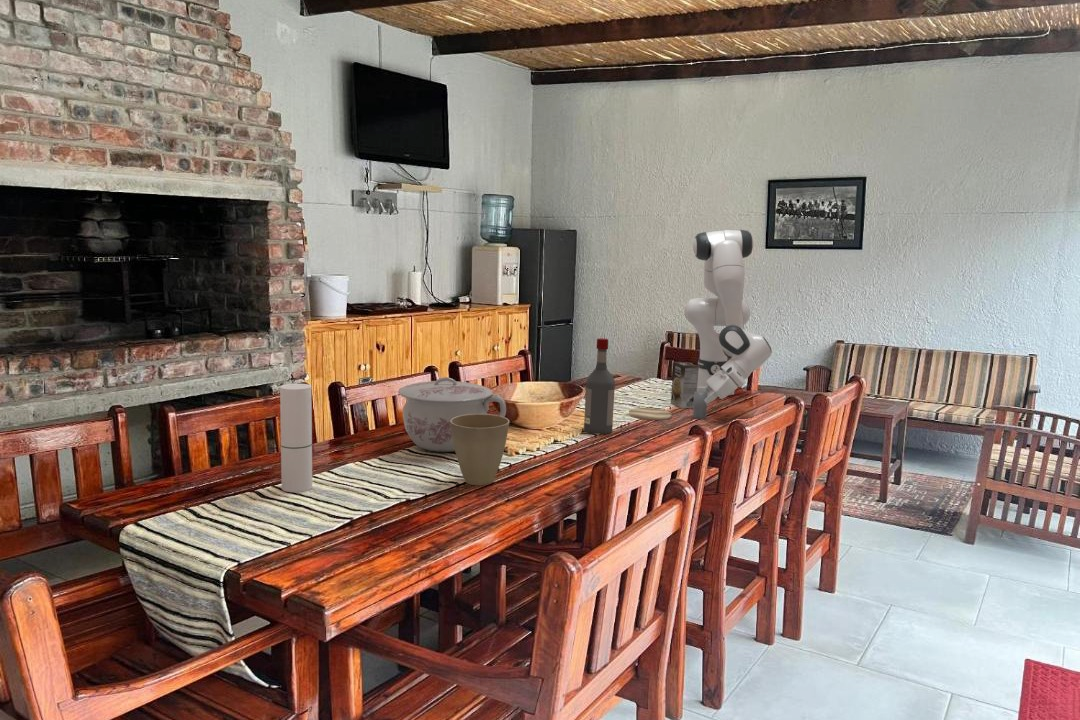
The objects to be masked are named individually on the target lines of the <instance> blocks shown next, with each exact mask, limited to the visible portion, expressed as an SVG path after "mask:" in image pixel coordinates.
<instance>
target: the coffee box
mask: <svg viewBox="0 0 1080 720" xmlns="http://www.w3.org/2000/svg"><path fill="white" fill-rule="evenodd" d="M672 365H673V366H672V377H671V378H672V380H671V394H670V395H671V396H670V397H671V398H670V404H672V405H674V406H676V407H678V408H680V409H693V408H694V394H695V392H696V391H697V384H698V371H699V366H698V364H694V363H691V362H689V361H674V362H673V364H672Z"/></svg>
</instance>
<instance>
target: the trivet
mask: <svg viewBox="0 0 1080 720" xmlns="http://www.w3.org/2000/svg"><path fill="white" fill-rule="evenodd" d="M628 415H629V416H630V417H632V418H634V419H638V420H645V421H665V420H670V419H672V416H673V415H672V412H670V411H668V410H664V409H660V408H654V407H653V408H652V407H635V408H631V409H629V411H628Z"/></svg>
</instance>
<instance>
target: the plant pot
mask: <svg viewBox="0 0 1080 720" xmlns="http://www.w3.org/2000/svg"><path fill="white" fill-rule="evenodd" d="M450 423H451V431H452V438H453V443H454V448H455V452H454V453H455V454H456V459H457V462H458V466H459V468H460V472H461V474H462V477H463V480H464V482H465V483H466V484H468V485H472V486H486V485H487V486H489V485H491V484H492V483H494V481H495V479H496V476H497V474H498V471H499V468H500V464H501V463H502V458H503V455H504V451H505V448H506V444H507V439H508V433H509V428H510V427H509V426H510V419H508V418H507V417H505V416H504V417H502V416H499V415H497V414H490V413H487V414H468V415H461V416H457V417H454V418H452V419H451V420H450Z"/></svg>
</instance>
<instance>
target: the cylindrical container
mask: <svg viewBox="0 0 1080 720" xmlns="http://www.w3.org/2000/svg"><path fill="white" fill-rule="evenodd" d="M279 399H280V400H279V402H280V403H279V407H280V408H279V409H280V410H279V411H280V413H279V415H280V463H281V464H280V469H281V472H280V473H281V490H282V491H284V492H287V493H300V492H302V493H303V492H306V491H309V490H311V489H312V488H313V434H312V433H313V431H312V430H313V427H312V426H313V422H312V421H313V419H312V417H313V415H312V414H313V413H312V412H313V411H312V408H313V407H312V385H311V384H308V383H288V384H287V383H286V384H283V385H280V386H279Z"/></svg>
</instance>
